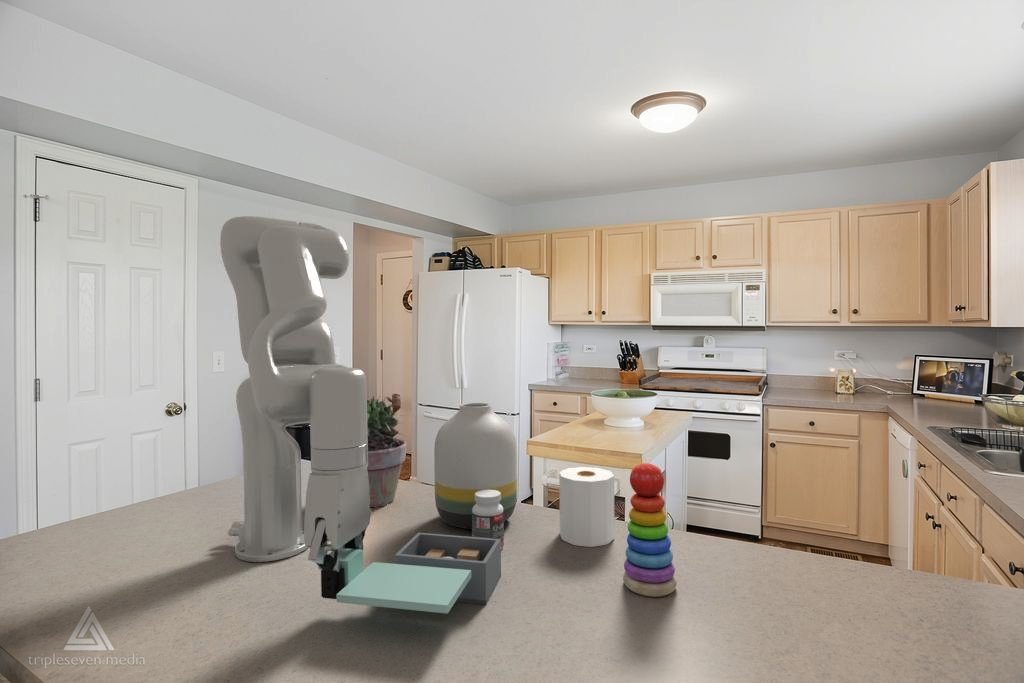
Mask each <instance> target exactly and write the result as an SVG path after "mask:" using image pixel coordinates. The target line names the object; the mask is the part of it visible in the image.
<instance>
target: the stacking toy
mask: <svg viewBox="0 0 1024 683" xmlns="http://www.w3.org/2000/svg"><path fill="white" fill-rule="evenodd" d="M629 484H630V487H631V488H632V490H633V491H634V492H635V493H634V494H633V495H632V496H631V498H630V502H629V503H630V505H631V507H632V508H631V509H630V510H629V512H628V517H629V519H630V521H629V522H628V523H627V530H628V532H629V533H628V535H627V536H626V542H627V546H626V548H625V557H626V558H625V559H624V563H623V568H624V572H623V576H622V580H623V583H624V585H625V586H626V588H627V589H628V590H630V591H632V592H633V593H636V594H638V595H641V596H645V597H654V598H655V597H663V596H666V595H670V594H671V593H673V592H674V591H675V589H676V588H677V579H676V576H675V572H676V570H675V565H674V564H673V558H674V554H673V552H672V549H671V545H672V540H671V538H670V536H669V535H668V533H669V527H668V525H667V523H666V520H667V514H666V511H665V510H664V509H663V508H664V507H665V499H664V497H663V496H662V495H661V494H660V492H661V491H662V490H663V488H664V484H665V478H664V474H663V473H662V471H661V469H660V468H659V467H657V466H656V465H655V464H652V463H647V462H644V463H640V464H637V465H636V466H634V467H633V469H632V470H631V473H630V476H629Z"/></svg>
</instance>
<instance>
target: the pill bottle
mask: <svg viewBox="0 0 1024 683" xmlns="http://www.w3.org/2000/svg"><path fill="white" fill-rule="evenodd" d="M500 500H501V493H500V492H499V491H497V490H481V491H478V492H476V493H475V501H476V504H475V505H474V506H473V508H472V529H471V537H479V538H491V539H501V550H502V549H503V548H504V545H505V544H504V542H505V541H504V538H505V536H504V532H505V531H504V527H505V526H504V523H505V522H504V521H503V520H504V515H503V514H504V513H503V507H502V505H501V504H499V502H500Z"/></svg>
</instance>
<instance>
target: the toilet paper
mask: <svg viewBox="0 0 1024 683" xmlns="http://www.w3.org/2000/svg"><path fill="white" fill-rule="evenodd" d="M558 475H559V476H558V477H559V487H558V488H559V491H558V492H559V535H560V538H561V540H562V541H564V542H566V543H569V544H570V545H573V546H579V547H587V548H593V547H599V546H606V545H608V544H610V543H611V542H612V541H613V540H615V475H614V474H613V472H612V471H611V470H607V469H604V468H599V467H590V466H587V467H586V466H577V467H568V468H565V469H563V470H561V471H559V474H558Z"/></svg>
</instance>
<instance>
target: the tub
mask: <svg viewBox="0 0 1024 683" xmlns="http://www.w3.org/2000/svg"><path fill="white" fill-rule="evenodd" d="M394 564H402V565H414V566H426V567H439V568H451V569H463V570H471V579H470V580H469V582H468V583H467V585H466V586H465V588H464V589H463V591H462V592H461V594H460V595H459V597H458V598H457V600H456V601H455V603H465V604H474V605H483V606H487V604H488V602H489V601H490V598H491V597H492V595H493V593H494V591H495V589H496V587H497V585H498V583H499V581H500V579H501V578H502V549H501V539H491V538H479V537H472V536H466V535H465V536H464V535H452V534H442V533H441V534H440V533H429V532H428V533H426V532H417V533H416V534H415V535H414V536H413V537H412V538H411V539H410V540H409V541H408V542H407V543H406V544H405V545H404V546H402V548H401V549H399V550H398V551H397V552H396V553H395V554H394Z"/></svg>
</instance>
